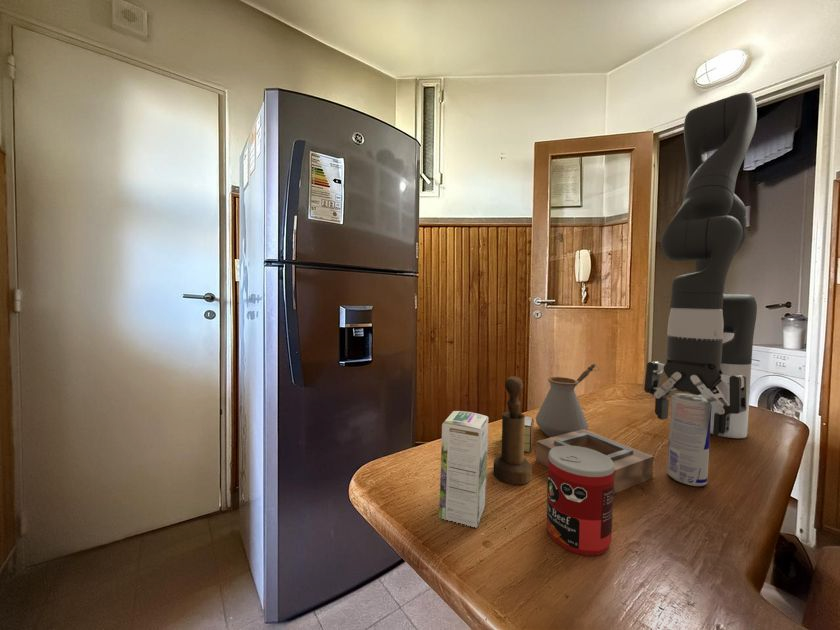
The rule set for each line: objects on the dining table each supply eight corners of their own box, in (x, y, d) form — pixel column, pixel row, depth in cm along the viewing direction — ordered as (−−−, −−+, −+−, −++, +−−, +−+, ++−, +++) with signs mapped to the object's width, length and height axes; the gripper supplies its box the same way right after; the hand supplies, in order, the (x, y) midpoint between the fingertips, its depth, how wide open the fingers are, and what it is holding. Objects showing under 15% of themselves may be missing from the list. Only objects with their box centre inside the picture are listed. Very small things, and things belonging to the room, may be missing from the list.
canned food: (536, 519, 50) (539, 445, 49) (589, 516, 50) (592, 443, 50) (563, 559, 42) (566, 473, 41) (624, 556, 43) (628, 470, 42)
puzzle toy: (506, 438, 78) (507, 413, 78) (533, 442, 76) (533, 417, 76) (502, 448, 73) (503, 422, 72) (530, 453, 71) (531, 426, 70)
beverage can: (714, 490, 58) (720, 402, 57) (677, 486, 59) (681, 400, 58) (695, 473, 63) (699, 393, 62) (661, 469, 64) (665, 391, 63)
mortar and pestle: (531, 469, 64) (534, 374, 63) (530, 488, 58) (533, 383, 57) (495, 463, 66) (497, 371, 65) (491, 481, 60) (493, 379, 59)
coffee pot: (570, 448, 73) (573, 379, 72) (525, 431, 82) (526, 369, 81) (616, 426, 85) (619, 367, 85) (572, 413, 95) (574, 360, 94)
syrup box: (449, 498, 55) (451, 409, 54) (486, 506, 52) (488, 414, 52) (438, 519, 49) (439, 421, 48) (479, 530, 47) (481, 427, 46)
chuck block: (583, 447, 74) (584, 426, 73) (652, 478, 61) (653, 453, 61) (536, 460, 67) (536, 438, 67) (602, 498, 55) (603, 470, 55)
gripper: (758, 338, 55) (751, 437, 56) (661, 330, 67) (657, 411, 68) (736, 340, 51) (729, 446, 52) (639, 331, 64) (634, 416, 65)
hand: (688, 426), depth 60 cm, fingers open, 8 cm apart
